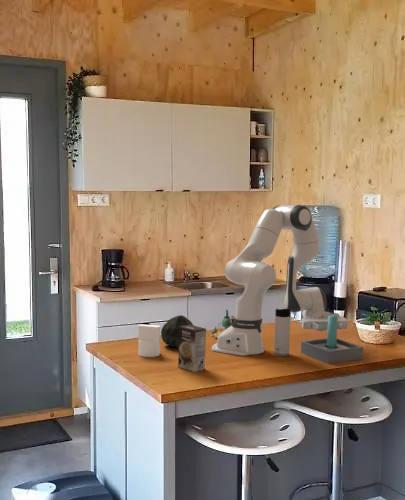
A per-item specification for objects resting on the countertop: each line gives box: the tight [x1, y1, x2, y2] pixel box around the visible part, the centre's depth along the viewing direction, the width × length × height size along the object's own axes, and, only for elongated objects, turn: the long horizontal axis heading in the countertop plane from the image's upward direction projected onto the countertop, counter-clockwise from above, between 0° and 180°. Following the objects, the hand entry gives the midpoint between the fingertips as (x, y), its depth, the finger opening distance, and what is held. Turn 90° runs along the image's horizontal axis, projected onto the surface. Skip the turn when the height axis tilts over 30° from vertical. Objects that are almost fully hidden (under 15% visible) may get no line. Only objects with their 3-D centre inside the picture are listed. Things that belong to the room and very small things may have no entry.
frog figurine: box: [210, 309, 234, 339], centre depth 294 cm, size 10×18×15 cm, turn 33°
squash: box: [160, 314, 194, 349], centre depth 278 cm, size 14×15×15 cm
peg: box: [326, 315, 338, 348], centre depth 267 cm, size 4×4×16 cm
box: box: [300, 338, 364, 365], centre depth 268 cm, size 18×18×5 cm
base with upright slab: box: [138, 323, 161, 358], centre depth 265 cm, size 9×9×12 cm
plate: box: [313, 343, 349, 351], centre depth 268 cm, size 12×12×3 cm
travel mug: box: [273, 308, 291, 357], centre depth 268 cm, size 6×7×20 cm
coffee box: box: [177, 324, 207, 373], centre depth 245 cm, size 9×6×16 cm
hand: (329, 327), depth 270 cm, fingers open, 8 cm apart
